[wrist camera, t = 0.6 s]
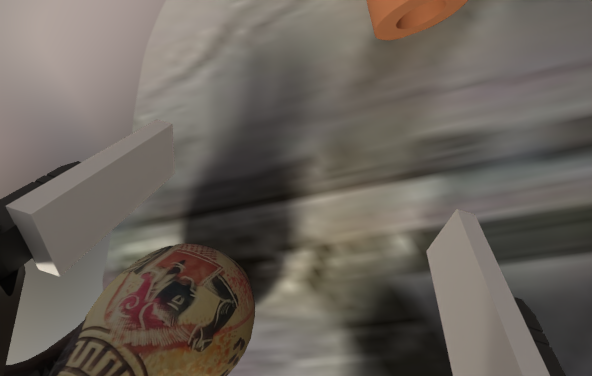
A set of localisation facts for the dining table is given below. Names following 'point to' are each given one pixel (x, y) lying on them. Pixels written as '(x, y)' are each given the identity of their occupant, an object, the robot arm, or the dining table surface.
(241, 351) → the ceramic jug
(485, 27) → the dining table surface
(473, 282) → the robot arm
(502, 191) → the dining table surface
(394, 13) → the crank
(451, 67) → the dining table surface
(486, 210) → the dining table surface
